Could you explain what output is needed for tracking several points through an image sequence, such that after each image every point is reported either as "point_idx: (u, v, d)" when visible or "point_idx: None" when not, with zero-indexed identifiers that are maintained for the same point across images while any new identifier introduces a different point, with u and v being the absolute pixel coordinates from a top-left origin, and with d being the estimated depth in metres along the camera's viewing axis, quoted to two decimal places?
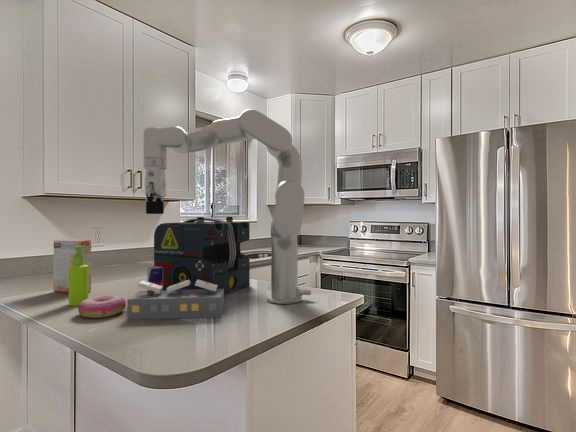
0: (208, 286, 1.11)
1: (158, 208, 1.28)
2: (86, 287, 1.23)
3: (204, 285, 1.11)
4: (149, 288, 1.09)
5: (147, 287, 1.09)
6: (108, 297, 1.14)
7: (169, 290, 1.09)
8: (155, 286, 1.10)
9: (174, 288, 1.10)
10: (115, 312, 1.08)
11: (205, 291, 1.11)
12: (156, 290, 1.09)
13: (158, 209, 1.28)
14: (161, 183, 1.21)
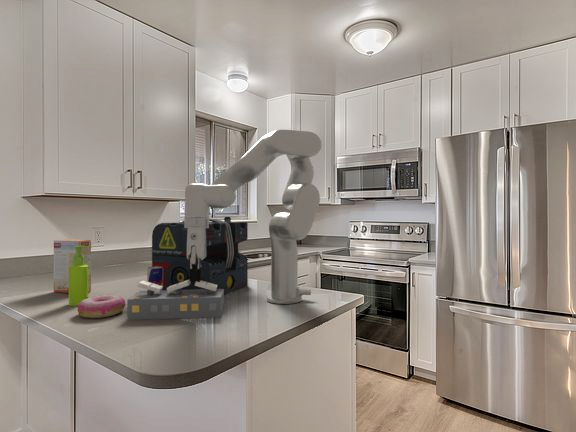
0: (208, 286, 1.11)
1: None
2: (86, 287, 1.23)
3: (204, 285, 1.11)
4: (149, 288, 1.09)
5: (147, 287, 1.09)
6: (107, 297, 1.14)
7: (169, 290, 1.09)
8: (155, 286, 1.10)
9: (174, 288, 1.10)
10: (114, 312, 1.08)
11: (205, 291, 1.11)
12: (156, 290, 1.09)
13: None
14: (203, 245, 1.10)
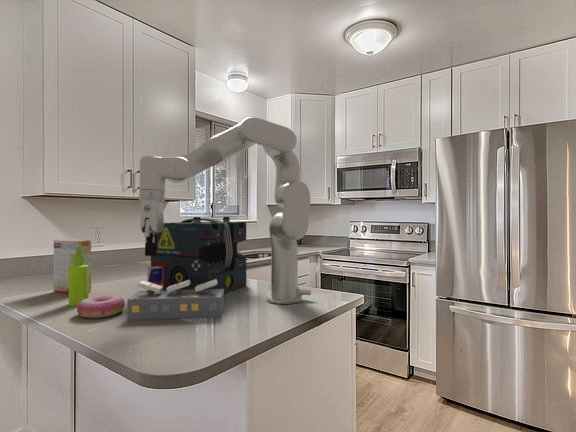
0: (207, 284, 1.11)
1: None
2: (86, 287, 1.23)
3: (204, 286, 1.11)
4: (149, 288, 1.09)
5: (147, 287, 1.09)
6: (107, 297, 1.14)
7: (169, 290, 1.09)
8: (155, 286, 1.10)
9: (174, 288, 1.10)
10: (114, 312, 1.08)
11: (205, 291, 1.11)
12: (156, 290, 1.09)
13: None
14: (158, 218, 1.08)
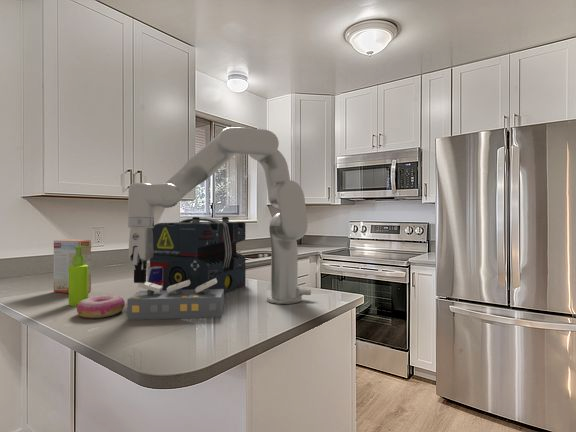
0: (207, 284, 1.11)
1: None
2: (86, 287, 1.23)
3: (204, 286, 1.11)
4: (149, 288, 1.09)
5: (147, 287, 1.09)
6: (107, 297, 1.14)
7: (169, 290, 1.09)
8: (155, 286, 1.10)
9: (174, 288, 1.10)
10: (114, 312, 1.08)
11: (205, 291, 1.11)
12: (156, 290, 1.09)
13: None
14: (147, 245, 1.08)
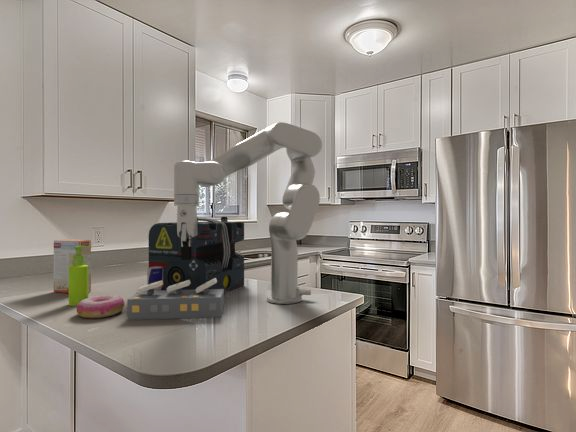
0: (207, 284, 1.11)
1: None
2: (86, 287, 1.23)
3: (204, 286, 1.11)
4: (149, 288, 1.09)
5: (147, 288, 1.09)
6: (107, 297, 1.14)
7: (169, 290, 1.09)
8: (154, 283, 1.10)
9: (174, 288, 1.10)
10: (113, 312, 1.08)
11: (205, 291, 1.11)
12: (156, 285, 1.09)
13: None
14: (194, 222, 1.10)
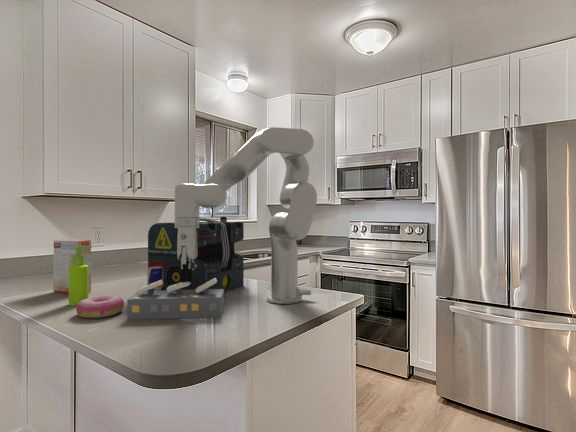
0: (207, 284, 1.11)
1: None
2: (86, 287, 1.23)
3: (204, 286, 1.11)
4: (149, 287, 1.09)
5: (147, 288, 1.09)
6: (106, 297, 1.14)
7: (169, 290, 1.09)
8: (154, 283, 1.10)
9: (174, 288, 1.10)
10: (113, 312, 1.08)
11: (205, 291, 1.11)
12: (156, 285, 1.09)
13: None
14: (194, 245, 1.09)
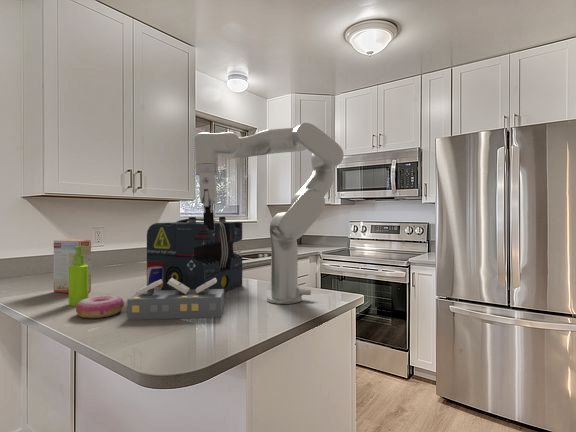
0: (207, 284, 1.11)
1: None
2: (86, 287, 1.23)
3: (204, 286, 1.11)
4: (149, 287, 1.09)
5: (147, 288, 1.09)
6: (106, 297, 1.14)
7: (169, 283, 1.09)
8: (153, 283, 1.10)
9: (174, 285, 1.10)
10: (113, 312, 1.08)
11: (205, 291, 1.11)
12: (156, 284, 1.09)
13: None
14: (215, 190, 1.18)
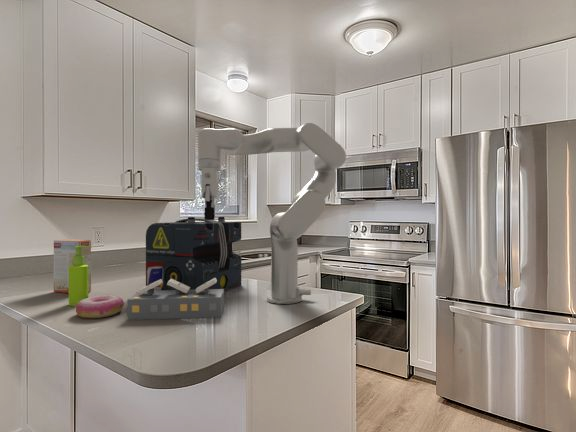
0: (207, 284, 1.11)
1: None
2: (86, 287, 1.23)
3: (204, 286, 1.11)
4: (149, 287, 1.09)
5: (147, 288, 1.09)
6: (106, 297, 1.14)
7: (169, 284, 1.09)
8: (153, 283, 1.10)
9: (174, 286, 1.10)
10: (113, 312, 1.08)
11: (205, 291, 1.11)
12: (156, 284, 1.09)
13: None
14: (216, 185, 1.19)
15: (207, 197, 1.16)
